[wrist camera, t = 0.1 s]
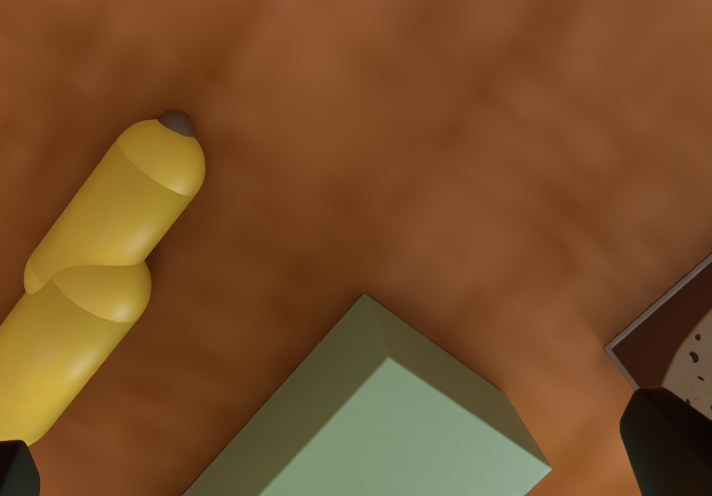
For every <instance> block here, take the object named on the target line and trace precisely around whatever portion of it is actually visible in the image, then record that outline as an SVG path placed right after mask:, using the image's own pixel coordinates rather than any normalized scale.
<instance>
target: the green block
mask: <svg viewBox="0 0 712 496" xmlns="http://www.w3.org/2000/svg"><path fill="white" fill-rule="evenodd" d="M551 469H552V467H551V465H550V464H549V462H548V461H547V459H546V458H545V456H544V454H543V453H542V451H541V450H540V448H539V447H538V445H537V443H536V442H535V440H534V439H533V437H532V435H531V434H530V432H529V431H528V429H527V428H526V426H525V424H524V423H523V421H522V420H521V418H520V417H519V415H518V413H517V412H516V410H515V409H514V407H513V406H512V404H511V402H510V401H509V399H508V398H507V396H506V395H505V394H504V393H503V392H502V391H500V390H499V389H497V388H496V387H495V386H493V385H492V384H490V383H489V382H488V381H486V380H485V379H483V378H482V377H481V376H479V375H478V374H477V373H475V372H474V371H472V370H471V369H470V368H468V367H467V366H465V365H464V364H463V363H461V362H460V361H458V360H457V359H456V358H454V357H453V356H451V355H450V354H449V353H447V352H446V351H445V350H443V349H442V348H440V347H439V346H438V345H436V344H435V343H433V342H432V341H431V340H429V339H428V338H426V337H425V336H424V335H422V334H421V333H419V332H418V331H417V330H415V329H414V328H413V327H411V326H410V325H408V324H407V323H406V322H404V321H403V320H401V319H400V318H399V317H397V316H396V315H394V314H393V313H392V312H390V311H389V310H388V309H386V308H385V307H383V306H382V305H381V304H379V303H378V302H376V301H375V300H374V299H372V298H371V297H369V296H368V295H367V294H365V293H364V294H363V295H362V296H361V297H360V298H359V299H358V300H357V301H356V302H355V304H354V305H353V306H352V307H351V308H350V309H349V310H348V311H347V312H346V314H345V315H344V316H343V317H342V318H341V319H340V320H339V321H338V322H337V324H336V325H335V326H334V327H333V328H332V329H331V330H330V331H329V332H328V334H327V335H326V336H325V337H324V338H323V339H322V340H321V341H320V342H319V344H318V345H317V346H316V347H315V348H314V349H313V350H312V351H311V352H310V354H309V355H308V356H307V357H306V358H305V359H304V360H303V361H302V362H301V364H300V365H299V366H298V367H297V368H296V369H295V370H294V371H293V373H292V374H291V375H290V376H289V377H288V378H287V379H286V380H285V381H284V383H283V384H282V385H281V386H280V387H279V388H278V389H277V390H276V391H275V393H274V394H273V395H272V396H271V397H270V398H269V399H268V400H267V401H266V403H265V404H264V405H263V406H262V407H261V408H260V409H259V410H258V411H257V413H256V414H255V415H254V416H253V417H252V418H251V419H250V420H249V421H248V423H247V424H246V425H245V426H244V427H243V428H242V429H241V430H240V431H239V433H238V434H237V435H236V436H235V437H234V438H233V439H232V440H231V441H230V443H229V444H228V445H227V446H226V447H225V448H224V449H223V450H222V451H221V453H220V454H219V455H218V456H217V457H216V458H215V459H214V460H213V461H212V463H211V464H210V465H209V466H208V467H207V468H206V469H205V470H204V472H203V473H202V474H201V475H200V476H199V477H198V478H197V479H196V480H195V482H194V483H193V484H192V485H191V486H190V487H189V488H188V489H187V490H186V492H185V493H184V494H183V495H182V496H524V495H525V494H526V493H527V492H528V491H529V490H530V489H531V488H532V487H534V486H535V485H536V484H537V483H538V482H539V481H540V480H541V479H542V478H543V477H544V476H545V475H546V474H547V473H548V472H550V471H551Z"/></svg>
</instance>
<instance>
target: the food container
mask: <svg viewBox="0 0 712 496" xmlns="http://www.w3.org/2000/svg"><path fill="white" fill-rule="evenodd" d="M604 350H605V351H606V352H607V354H608V355H609V356H610V358H611V359H612V360H613V362H614V363H615V365H616V366H617V367H618V369H619V370H620V371H621V373H622V374H623V375H624V377H625V378H626V379H627V381H628V382H629V383H630V385H631V386H632V387H633V389H634V390H635V391H636V390H637V389H638V388H643V387H655V386H660V387H664V388H667V389H668V390H670V391H671V392H673V393H674V394H676V395H677V396H678V397H680V398H681V399H683V400H684V401H685V402H687V403H688V404H690V405H691V406H692V407H694V408H695V409H697V410H698V411H699V412H701V413H702V414H704V415H705V416H706V417H708V418H709V419H711V420H712V254H710V255H709V256H708V257H707V258H706V259H705V260H703V261H702V262H701V263H700V264H699V265H698V266H697V267H695V268H694V269H693V270H692V271H691V272H690V273H689V274H687V275H686V276H685V277H684V278H683V279H682V280H681V281H679V282H678V283H677V284H676V285H675V286H674V287H673V288H671V289H670V290H669V291H668V292H667V293H666V294H665V295H663V296H662V297H661V298H660V299H659V300H658V301H657V302H655V303H654V304H653V305H652V306H651V307H650V308H649V309H647V310H646V311H645V312H644V313H643V314H642V315H641V316H639V317H638V318H637V319H636V320H635V321H634V322H633V323H631V324H630V325H629V326H628V327H627V328H626V329H625V330H623V331H622V332H621V333H620V334H619V335H618V336H617V337H615V338H614V339H613V340H612V341H611V342H610V343H609V344H607V345H606V346H605V347H604Z"/></svg>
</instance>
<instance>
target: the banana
mask: <svg viewBox="0 0 712 496" xmlns="http://www.w3.org/2000/svg"><path fill="white" fill-rule="evenodd" d="M193 134H194V124H193V121H192V119H191V118H190V116H189V115H188V114H186V113H185V112H183V111H180V110H169V111H166V112H165V113H163V114H162V115H161V116H160V118H159V119H151V120H146V121H141V122H139V123H136V124H134V125H132V126H131V127H129V128H128V129H126V130H125V131H124V132H123V133H122V134H121V135H120V136H119V137H118V138H117V140H116V141H115V142H114V144H113V145H112V146H111V148H110V149H109V150H108V152H107V153H106V154H105V156H104V157H103V158H102V160H101V161H100V163H99V164H98V165H97V167H96V168H95V169H94V171H93V172H92V173H91V175H90V176H89V177H88V179H87V180H86V181H85V183H84V184H83V186H82V187H81V188H80V190H79V191H78V192H77V194H76V195H75V196H74V198H73V199H72V200H71V202H70V203H69V204H68V206H67V207H66V208H65V210H64V211H63V213H62V214H61V215H60V217H59V218H58V219H57V221H56V222H55V223H54V225H53V226H52V227H51V229H50V230H49V231H48V233H47V234H46V235H45V237H44V238H43V240H42V241H41V242H40V244H39V245H38V246H37V248H36V249H35V250H34V252H33V253H32V254H31V256H30V258H29V260H28V262H27V264H26V267H25V271H24V286H25V290H26V292H25V294H24V295H23V296H22V298H21V299H20V300H19V302H18V303H17V304H16V306H15V307H14V308H13V310H12V311H11V312H10V314H9V315H8V316H7V318H6V319H5V320H4V322H3V323H2V324H1V326H0V441H6V440H23V441H24V442H25V443H26V444H27V446H30V445H31V444H33V443H34V442H36V441H38V440H39V439H40V438H41V437H42V436H43V435H44V434H45V433H46V432H47V431H48V430H49V429H50V428H51V426H52V425H53V424H54V423H55V421H56V420H57V419H58V418H59V416H60V415H61V414H62V413H63V412H64V410H65V409H66V408H67V407H68V405H69V404H70V403H71V402H72V400H73V399H74V398H75V397H76V395H77V394H78V393H79V392H80V391H81V389H82V388H83V387H84V386H85V384H86V383H87V382H88V381H89V379H90V378H91V377H92V376H93V374H94V373H95V372H96V371H97V370H98V368H99V367H100V366H101V365H102V363H103V362H104V361H105V360H106V358H107V357H108V356H109V355H110V353H111V352H112V351H113V350H114V349H115V347H116V346H117V345H118V344H119V342H120V341H121V340H122V339H123V337H124V336H125V335H126V334H127V332H128V331H129V330H130V329H131V327H132V326H133V325H134V324H135V323H136V321H137V320H138V319H139V318H140V316H141V315H142V313H143V312H144V310H145V309H146V307H147V304H148V302H149V299H150V295H151V286H152V283H151V275H150V271H149V269H148V267H147V264H146V262H145V259H146V257H147V256H148V255H149V254H150V252H151V251H152V250H153V249H154V247H155V246H156V245H157V243H158V242H159V241H160V240H161V238H162V237H163V236H164V235H165V233H166V232H167V231H168V230H169V228H170V227H171V226H172V225H173V223H174V222H175V221H176V219H177V218H178V217H179V216H180V214H181V213H182V212H183V211H184V209H185V208H186V207H187V206H188V204H189V203H190V202H191V200H192V199H193V198H194V197H195V195H196V194H197V192H198V191H199V189H200V188H201V186H202V183H203V180H204V177H205V170H206V167H205V158H204V154H203V151H202V149H201V147H200V145H199V143H198V141H197V140H196V139H195V138H194V136H193Z"/></svg>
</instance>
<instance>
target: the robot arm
mask: <svg viewBox="0 0 712 496" xmlns="http://www.w3.org/2000/svg"><path fill="white" fill-rule="evenodd" d="M620 434H621V437H622V440H623V443H624V446H625V449H626V452H627V454H628V457H629V460H630V463H631V466H632V469H633V471H634V474H635V477H636V480H637V483H638V486H639V488H640V491H641V494H642V496H712V420H711V419H709V418H708V417H706V416H705V415H704V414H702V413H701V412H699V411H698V410H697V409H695V408H694V407H692V406H691V405H690V404H688V403H687V402H685V401H684V400H683V399H681V398H680V397H678V396H677V395H676V394H674V393H673V392H671V391H670V390H668V389H667V388H664V387H660V386H655V387H643V388H638V389H637V390H636V391H635V392H634V393H633V395H632V397H631V399H630V401H629V403H628V405H627V407H626V409H625V411H624V413H623V415H622V417H621V420H620ZM39 494H40V476H39V472H38V470H37V467H36V465H35V463H34V460H33V458H32V455H31V453H30V451H29V448H28V446H27V444H26V443H25V442H24V441H23V440H6V441H0V496H39Z"/></svg>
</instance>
